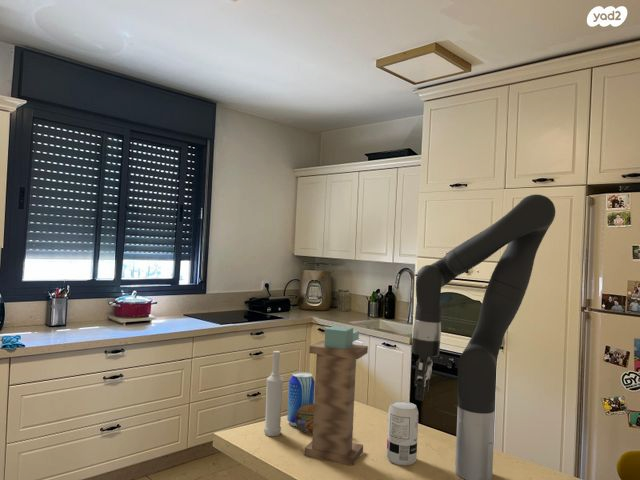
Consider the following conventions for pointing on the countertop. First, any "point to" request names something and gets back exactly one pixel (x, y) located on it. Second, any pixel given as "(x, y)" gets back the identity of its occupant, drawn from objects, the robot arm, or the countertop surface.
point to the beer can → (299, 393)
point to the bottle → (274, 399)
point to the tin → (305, 418)
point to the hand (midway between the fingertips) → (421, 395)
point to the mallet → (340, 337)
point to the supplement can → (402, 433)
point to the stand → (334, 404)
